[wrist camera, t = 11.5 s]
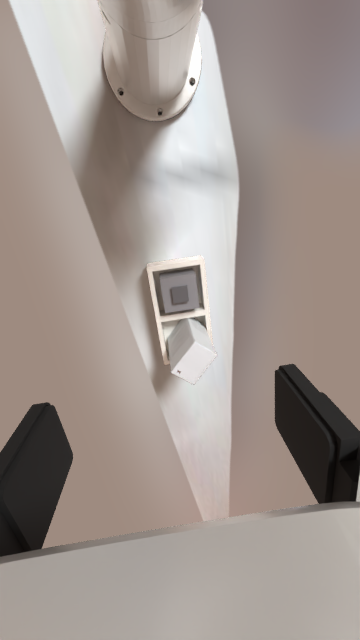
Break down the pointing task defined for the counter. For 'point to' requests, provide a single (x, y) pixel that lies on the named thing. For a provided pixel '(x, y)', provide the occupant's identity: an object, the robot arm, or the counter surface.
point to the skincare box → (190, 350)
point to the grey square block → (179, 290)
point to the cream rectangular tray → (171, 319)
